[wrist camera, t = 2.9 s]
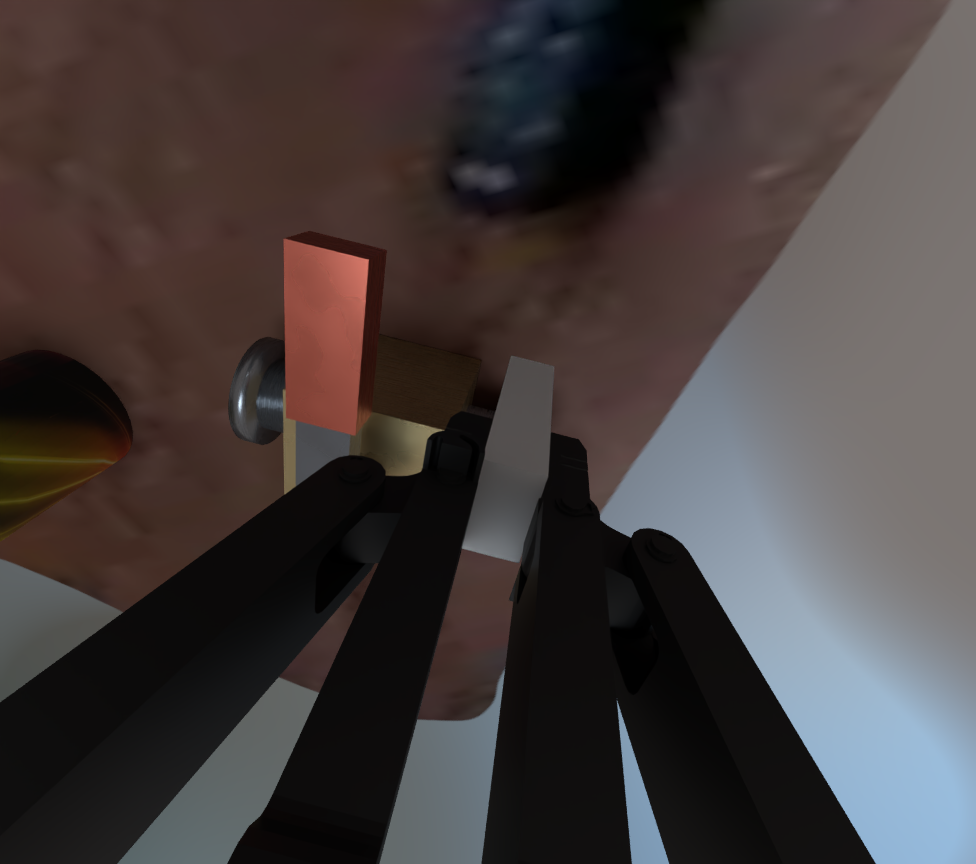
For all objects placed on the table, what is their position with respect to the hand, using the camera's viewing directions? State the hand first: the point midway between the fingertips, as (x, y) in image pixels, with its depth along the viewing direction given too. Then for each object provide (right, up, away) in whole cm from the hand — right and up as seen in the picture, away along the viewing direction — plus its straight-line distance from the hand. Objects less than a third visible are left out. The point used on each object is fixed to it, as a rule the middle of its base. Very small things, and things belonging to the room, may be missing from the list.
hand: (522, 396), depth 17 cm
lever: (-7, 0, +4) cm, 8 cm away
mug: (-34, -1, +21) cm, 40 cm away
